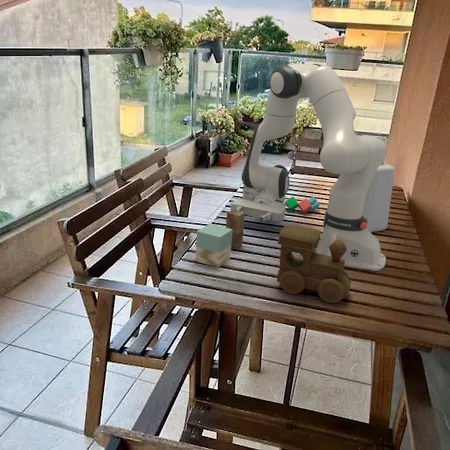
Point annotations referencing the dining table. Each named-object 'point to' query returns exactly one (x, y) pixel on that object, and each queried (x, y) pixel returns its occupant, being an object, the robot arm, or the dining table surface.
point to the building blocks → (302, 204)
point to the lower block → (213, 256)
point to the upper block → (214, 238)
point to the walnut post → (236, 227)
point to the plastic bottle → (379, 199)
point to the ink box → (251, 193)
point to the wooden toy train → (311, 264)
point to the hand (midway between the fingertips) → (249, 216)
